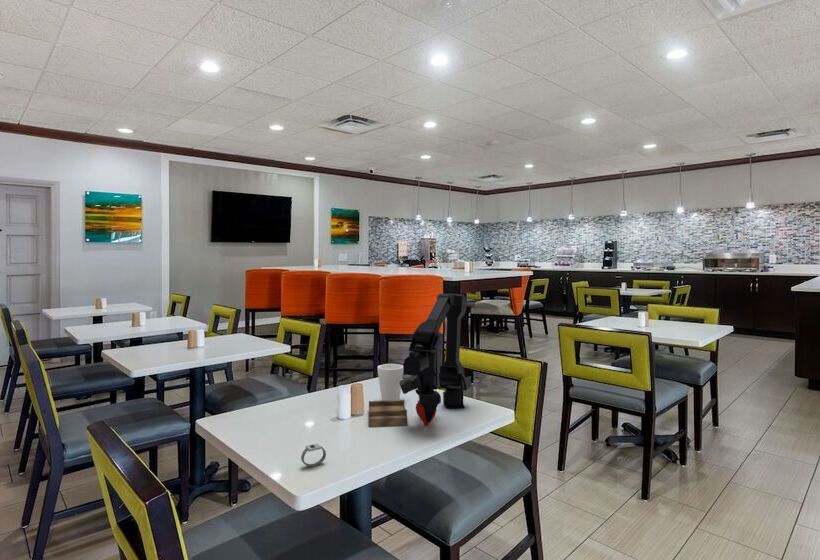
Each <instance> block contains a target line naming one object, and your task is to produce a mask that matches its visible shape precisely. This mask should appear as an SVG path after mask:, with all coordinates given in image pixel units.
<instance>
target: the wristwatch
mask: <svg viewBox="0 0 820 560" xmlns="http://www.w3.org/2000/svg"><path fill="white" fill-rule="evenodd" d="M317 450H322V456H321V458H320V459H319V460H318V461H316V462H314V463H306V462H305V455H306V453H307V452H314V451H317ZM326 457H327V452H326V450H325V448H324V447H323V446H322V445H320V444H319V443H314V444H309V445H305V449H303V451H302V453H301V457H300V459H301V462H302V463H303V464H304V465H305V466H307V467H309V468H314V467H316V466H319V465H320V464H322V463H323V462H324V461H325V459H326Z"/></svg>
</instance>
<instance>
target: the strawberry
mask: <svg viewBox="0 0 820 560" xmlns="http://www.w3.org/2000/svg"><path fill="white" fill-rule="evenodd" d="M416 401H417V403H416V404H415V411H416V414H417V416H418V418H419V419H420V420H421V422H422V424H424V426H429V425H430V423H431V422H432V421H433V420H434V418H435V417H436V414H437V411H438V410H437V408H436V410H435V412H434V414H433V416H432V419H431V421H430V422H427V421H426V416H425V411H424V406H422V405H421V404H420V403H419V400H416Z"/></svg>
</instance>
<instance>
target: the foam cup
mask: <svg viewBox="0 0 820 560" xmlns="http://www.w3.org/2000/svg"><path fill="white" fill-rule="evenodd" d="M377 374H378V381H379V382H378V383H379V388H380V390H379V391H380V397H381V401H387V400H401V392H402V389H401V387H400V384H399V381H401V380H403V374H404V368H403V364H398V363H385V364H380V365H377Z"/></svg>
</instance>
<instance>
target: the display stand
mask: <svg viewBox="0 0 820 560" xmlns="http://www.w3.org/2000/svg"><path fill="white" fill-rule="evenodd" d="M401 426H403V427H404V426H405V427H406V426H408V410H407V409H406V407H405V400H404V399H400V400H387V401H382V400H369V401H368V427H369V428H374V427H375V428H377V427H379V428H380V427H401Z"/></svg>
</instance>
